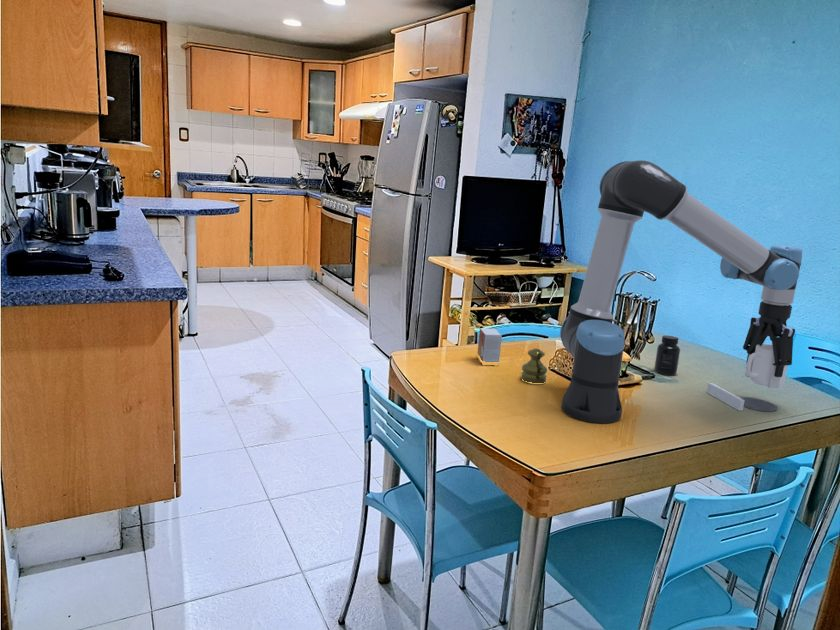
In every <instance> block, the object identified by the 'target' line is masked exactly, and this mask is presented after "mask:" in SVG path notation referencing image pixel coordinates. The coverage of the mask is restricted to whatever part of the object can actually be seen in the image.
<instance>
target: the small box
mask: <svg viewBox="0 0 840 630" xmlns="http://www.w3.org/2000/svg"><path fill="white" fill-rule="evenodd" d="M478 334H479V335H478V343H477V344H478V346H477V354H478V355H479V356H480V358H481V360H482V361H485V362H499V363H500V357H501V350H502V349H501V347H502V346H501V345H502V338H503V337H502V334H501V333H500V331H498V330H497V329H496V328H484V327H483V328H479V333H478Z"/></svg>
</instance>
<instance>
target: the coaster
mask: <svg viewBox="0 0 840 630" xmlns="http://www.w3.org/2000/svg"><path fill="white" fill-rule="evenodd" d="M739 398H741V399H743V400H745V401H744V406H743V408H747V409H750V410H754V411H759V412H763V413H764V412H765V413H766V412H767V413H771V412H772V411H773V412H776V411H777V409H778V407H777V406H776V405H775V404H774V403H772V402H770V401H768V400H764V399H761V398H757V397H750V396H749V397H748V396H742V397H741V396H740V397H739Z"/></svg>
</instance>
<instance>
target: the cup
mask: <svg viewBox="0 0 840 630" xmlns="http://www.w3.org/2000/svg"><path fill="white" fill-rule="evenodd" d="M753 359H754V360H753ZM752 361H753V366H752V371H750V368H751V363H752ZM780 361H781V360H780ZM746 362H747V363H746V366H745V373H747V375H748V376H749V377H748V378H750V380H751V382H753V383H754V384H758V385H760V386H764V387H768V382H769V377H770V372H771V367H772V364H773V363H775V360H774V353H773V346H772V343H771V344H770V343H763V344H762V346H760V345H759V344H757V345H756V350H755V353H753V354H751V355H750V357H749V359H748V361H747V360H746ZM788 366H789V365H786V366H784V370H783V375H782V377H780V382H779V387H778V388H781V387H783V386H784V385H785V381H786V377H787V371H788Z"/></svg>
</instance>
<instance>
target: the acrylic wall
mask: <svg viewBox="0 0 840 630" xmlns="http://www.w3.org/2000/svg"><path fill="white" fill-rule="evenodd" d="M706 393H707V394H709V395H710V396H712V397H714V398H716V399H718V400H720V401H721V402H722V403H724V404H726V405H727V406H730V407H731V408H734V410H736V411H742V412H743V411H744V401H745V400H743V399H741V398H740V397H739V396H738V395H736V394H734V393H732V392H730V391H728V390H726V389H724V388H722V387H721V386H719V385H717V384H715V383H713V382H707V388H706Z"/></svg>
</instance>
